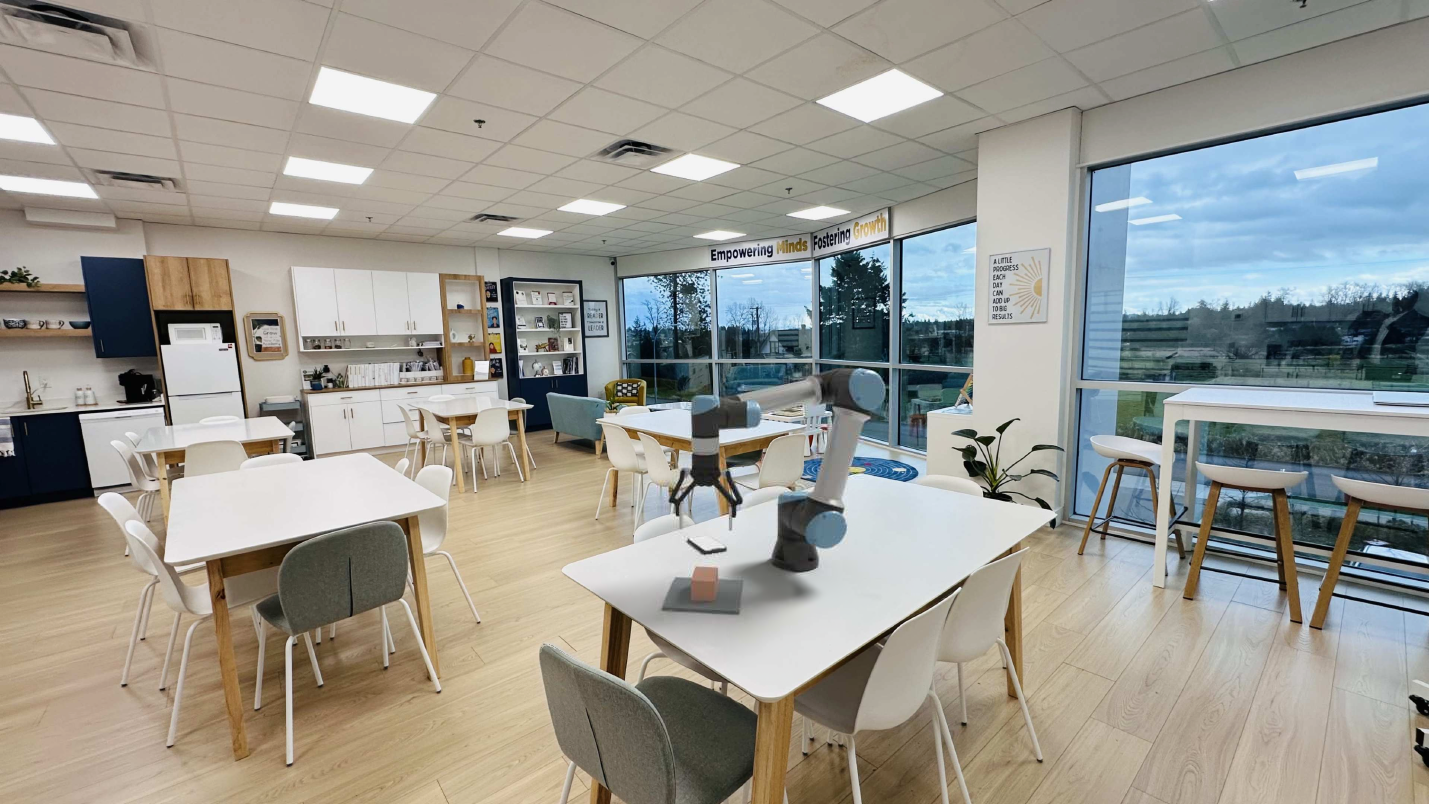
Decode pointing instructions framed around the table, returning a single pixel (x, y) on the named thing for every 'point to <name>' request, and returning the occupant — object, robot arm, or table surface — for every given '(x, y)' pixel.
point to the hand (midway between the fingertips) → (706, 528)
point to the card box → (704, 584)
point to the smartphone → (707, 544)
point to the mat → (723, 603)
